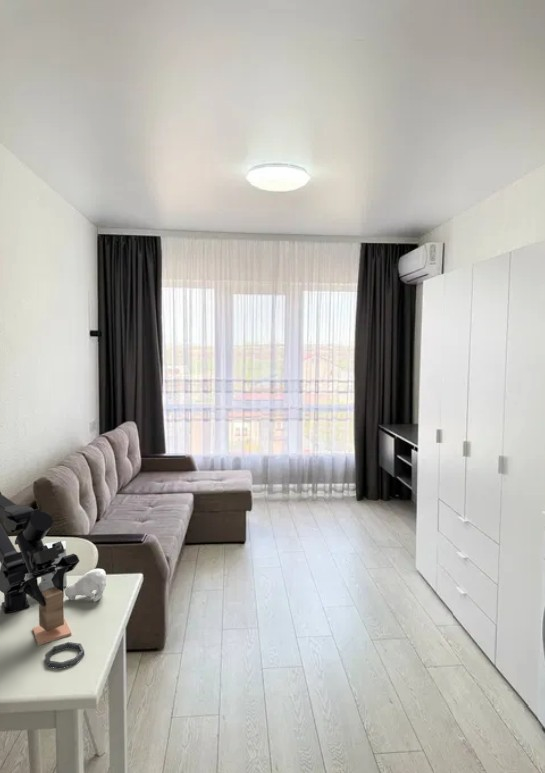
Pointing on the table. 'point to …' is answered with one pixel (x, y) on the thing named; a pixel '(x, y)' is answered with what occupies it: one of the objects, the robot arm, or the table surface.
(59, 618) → the walnut block
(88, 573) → the white lumpy piece
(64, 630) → the terracotta mat
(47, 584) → the supplement box
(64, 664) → the metal ring
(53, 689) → the table surface
